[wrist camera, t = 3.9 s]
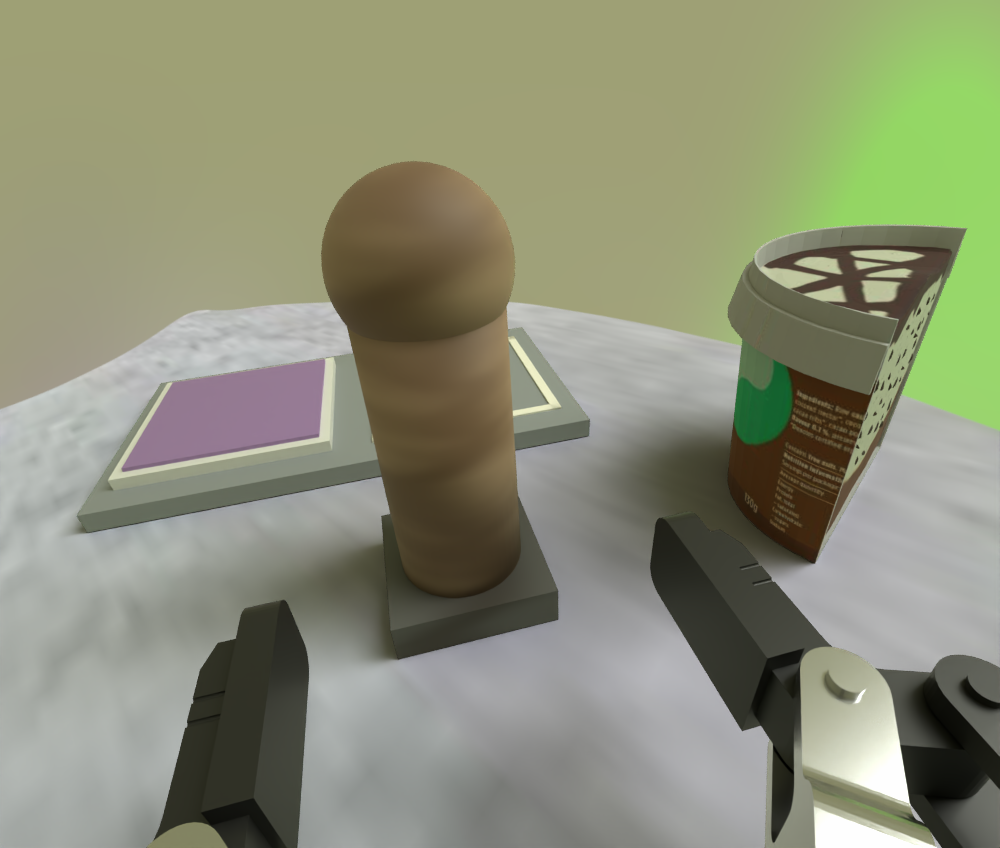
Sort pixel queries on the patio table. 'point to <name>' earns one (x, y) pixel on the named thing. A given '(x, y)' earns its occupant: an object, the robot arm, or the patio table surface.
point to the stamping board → (283, 436)
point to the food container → (826, 366)
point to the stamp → (438, 401)
